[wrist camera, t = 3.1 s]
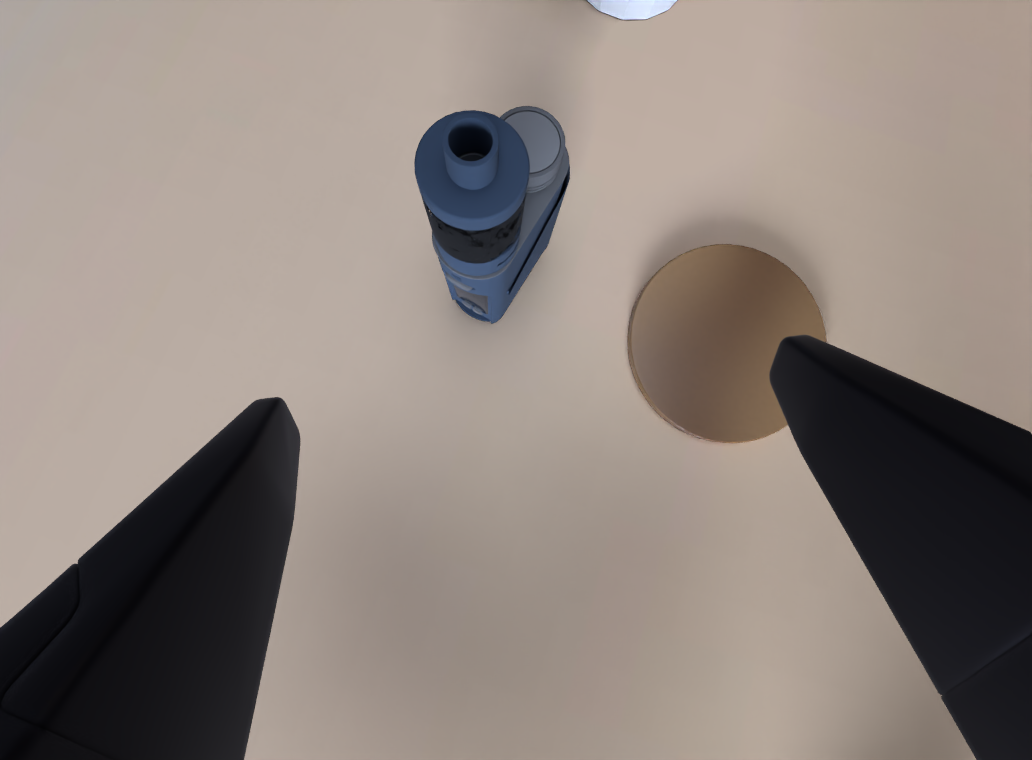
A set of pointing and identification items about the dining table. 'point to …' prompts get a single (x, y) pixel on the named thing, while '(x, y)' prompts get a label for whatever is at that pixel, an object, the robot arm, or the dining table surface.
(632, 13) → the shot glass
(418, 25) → the dining table surface
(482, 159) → the vaping device
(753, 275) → the round bronze-colored metal disc
